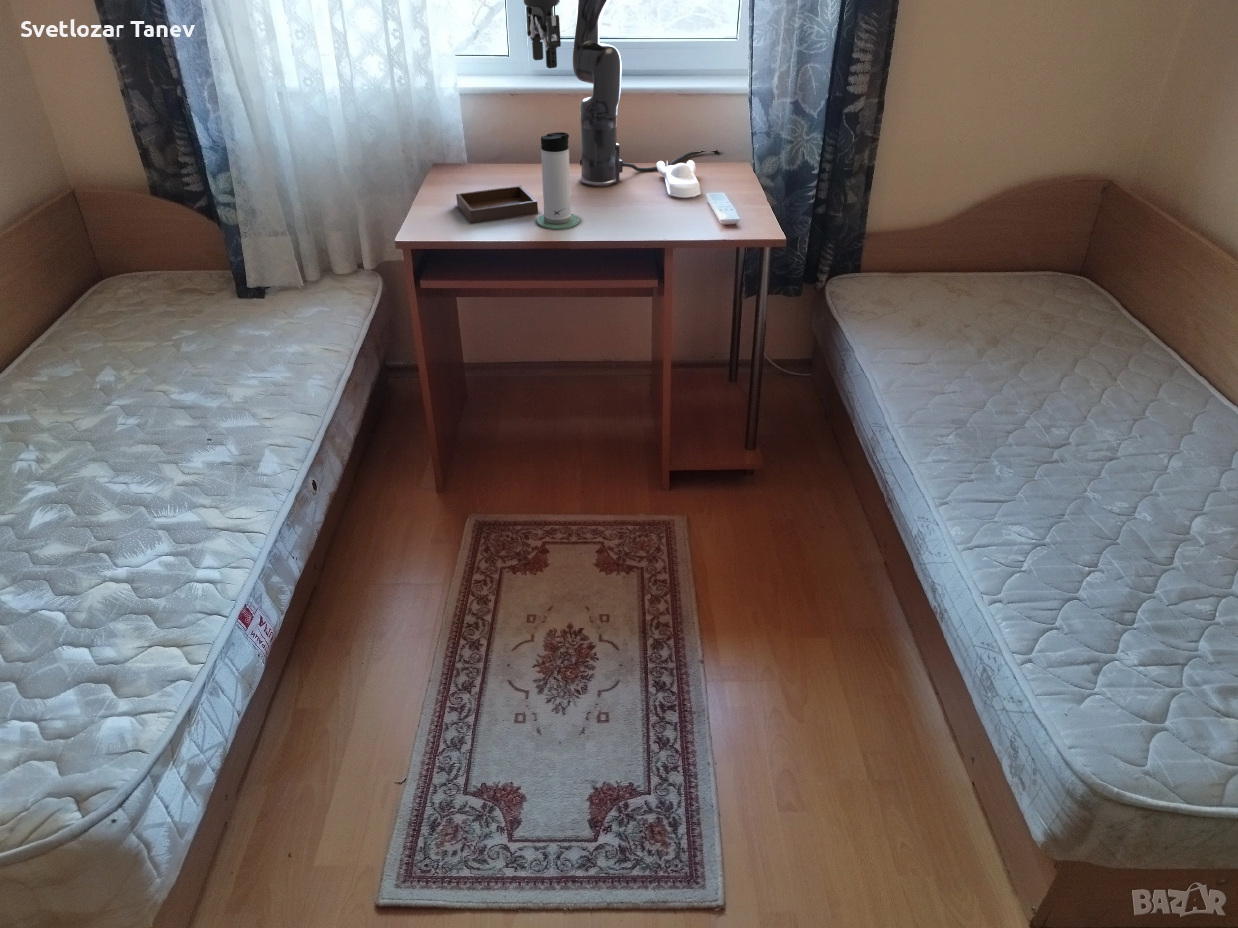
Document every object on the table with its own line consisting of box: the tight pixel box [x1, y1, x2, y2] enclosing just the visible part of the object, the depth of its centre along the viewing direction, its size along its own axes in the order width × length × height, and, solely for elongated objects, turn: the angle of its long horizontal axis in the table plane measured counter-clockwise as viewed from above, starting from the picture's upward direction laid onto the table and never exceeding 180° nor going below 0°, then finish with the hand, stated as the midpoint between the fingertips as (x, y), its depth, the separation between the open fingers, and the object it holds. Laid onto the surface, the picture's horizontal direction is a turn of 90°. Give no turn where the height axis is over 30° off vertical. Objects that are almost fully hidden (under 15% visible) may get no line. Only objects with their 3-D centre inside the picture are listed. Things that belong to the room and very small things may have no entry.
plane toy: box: [655, 159, 702, 198], centre depth 225 cm, size 10×20×6 cm, turn 5°
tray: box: [455, 185, 539, 224], centre depth 211 cm, size 17×13×3 cm
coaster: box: [536, 213, 580, 230], centre depth 206 cm, size 10×10×1 cm
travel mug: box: [540, 131, 572, 224], centre depth 200 cm, size 6×7×20 cm
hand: (544, 63), depth 189 cm, fingers open, 8 cm apart
